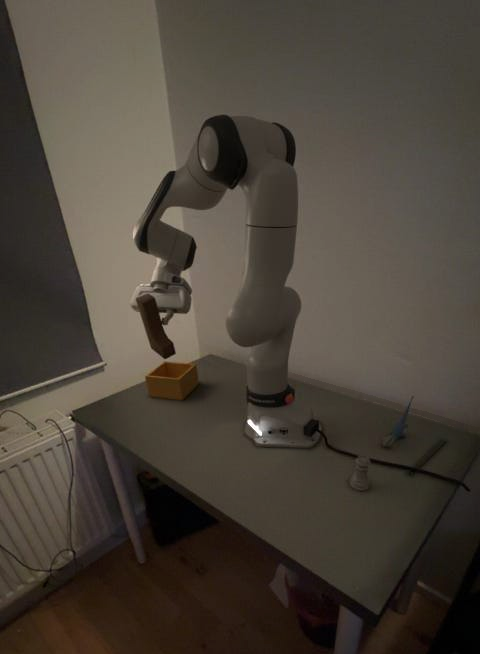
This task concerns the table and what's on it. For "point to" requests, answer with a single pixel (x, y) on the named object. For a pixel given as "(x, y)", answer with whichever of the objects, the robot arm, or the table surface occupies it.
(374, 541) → the table surface
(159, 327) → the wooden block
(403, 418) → the dinosaur figurine
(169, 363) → the bin
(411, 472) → the rod
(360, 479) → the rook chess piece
